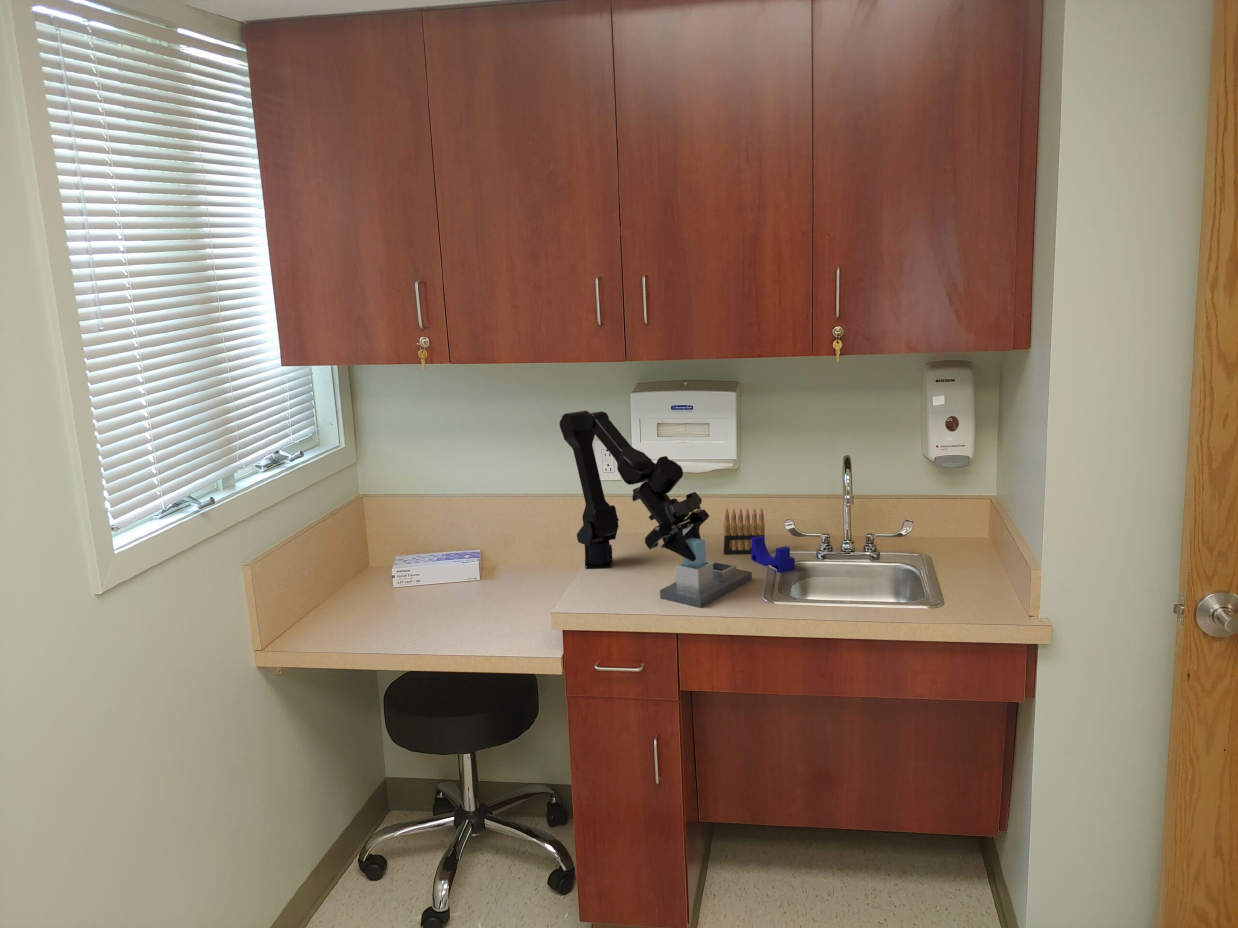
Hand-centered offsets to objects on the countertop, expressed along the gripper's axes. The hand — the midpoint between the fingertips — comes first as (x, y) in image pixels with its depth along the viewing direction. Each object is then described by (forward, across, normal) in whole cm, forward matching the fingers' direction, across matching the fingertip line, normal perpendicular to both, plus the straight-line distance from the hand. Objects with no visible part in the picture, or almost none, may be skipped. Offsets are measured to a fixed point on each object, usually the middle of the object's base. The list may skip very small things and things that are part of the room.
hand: (699, 558), depth 221 cm
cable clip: (+8, +29, +5) cm, 31 cm away
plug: (+1, 0, +3) cm, 3 cm away
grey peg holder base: (+6, +5, +8) cm, 11 cm away
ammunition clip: (+1, +33, +13) cm, 35 cm away
